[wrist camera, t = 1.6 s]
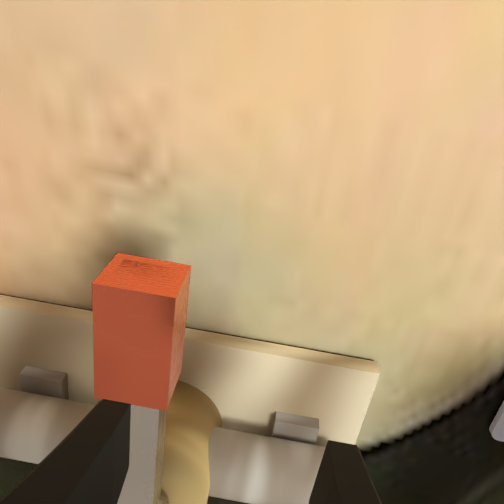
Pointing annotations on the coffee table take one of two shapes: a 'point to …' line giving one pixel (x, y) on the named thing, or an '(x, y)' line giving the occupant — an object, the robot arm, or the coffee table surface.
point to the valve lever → (140, 357)
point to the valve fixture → (189, 404)
